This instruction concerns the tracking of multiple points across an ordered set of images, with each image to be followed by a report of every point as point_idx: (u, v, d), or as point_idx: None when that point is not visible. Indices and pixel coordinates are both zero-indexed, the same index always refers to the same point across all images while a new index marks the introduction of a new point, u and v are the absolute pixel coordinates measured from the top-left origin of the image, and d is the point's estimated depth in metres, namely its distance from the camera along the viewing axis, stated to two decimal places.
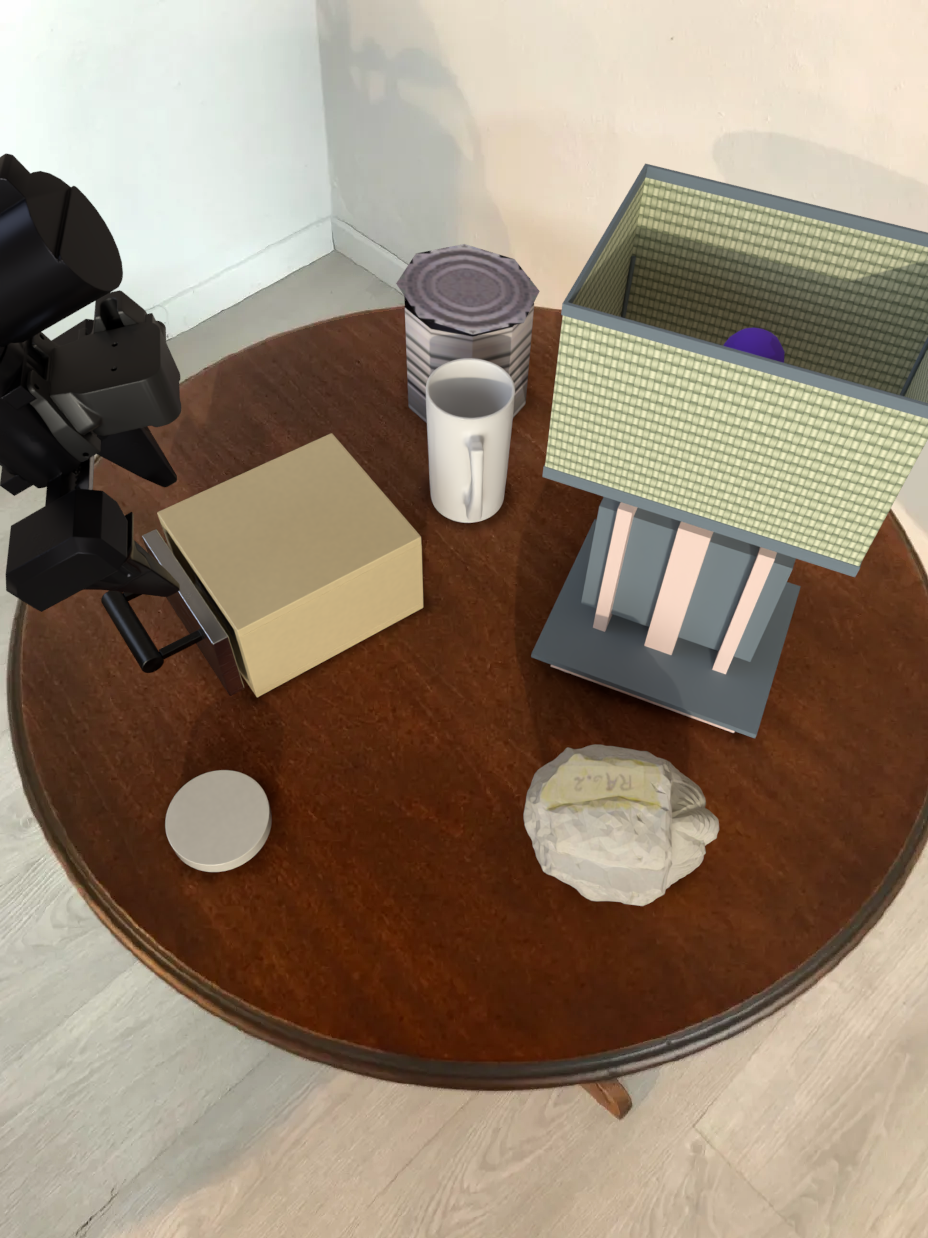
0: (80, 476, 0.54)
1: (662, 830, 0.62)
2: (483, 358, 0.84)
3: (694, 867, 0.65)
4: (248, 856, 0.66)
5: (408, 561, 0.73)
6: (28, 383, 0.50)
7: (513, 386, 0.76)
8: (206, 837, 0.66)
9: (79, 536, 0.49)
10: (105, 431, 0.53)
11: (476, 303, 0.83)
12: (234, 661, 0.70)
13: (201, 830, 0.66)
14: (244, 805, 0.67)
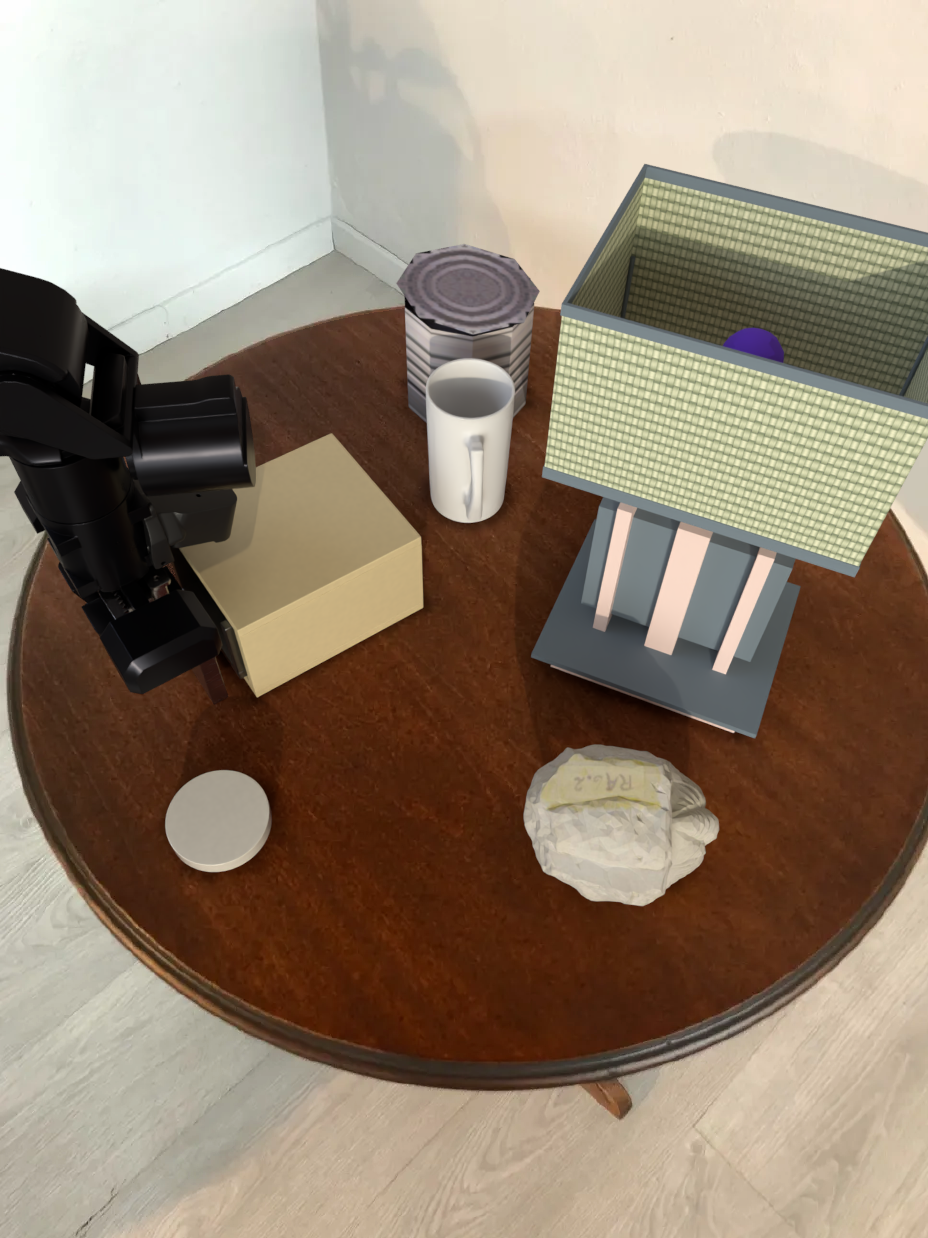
0: None
1: (662, 830, 0.62)
2: (483, 358, 0.84)
3: (694, 867, 0.65)
4: (248, 856, 0.66)
5: (408, 561, 0.73)
6: (148, 503, 0.61)
7: (513, 386, 0.76)
8: (206, 837, 0.66)
9: (204, 626, 0.61)
10: (181, 544, 0.64)
11: (476, 303, 0.83)
12: (217, 670, 0.70)
13: (201, 830, 0.66)
14: (244, 805, 0.67)
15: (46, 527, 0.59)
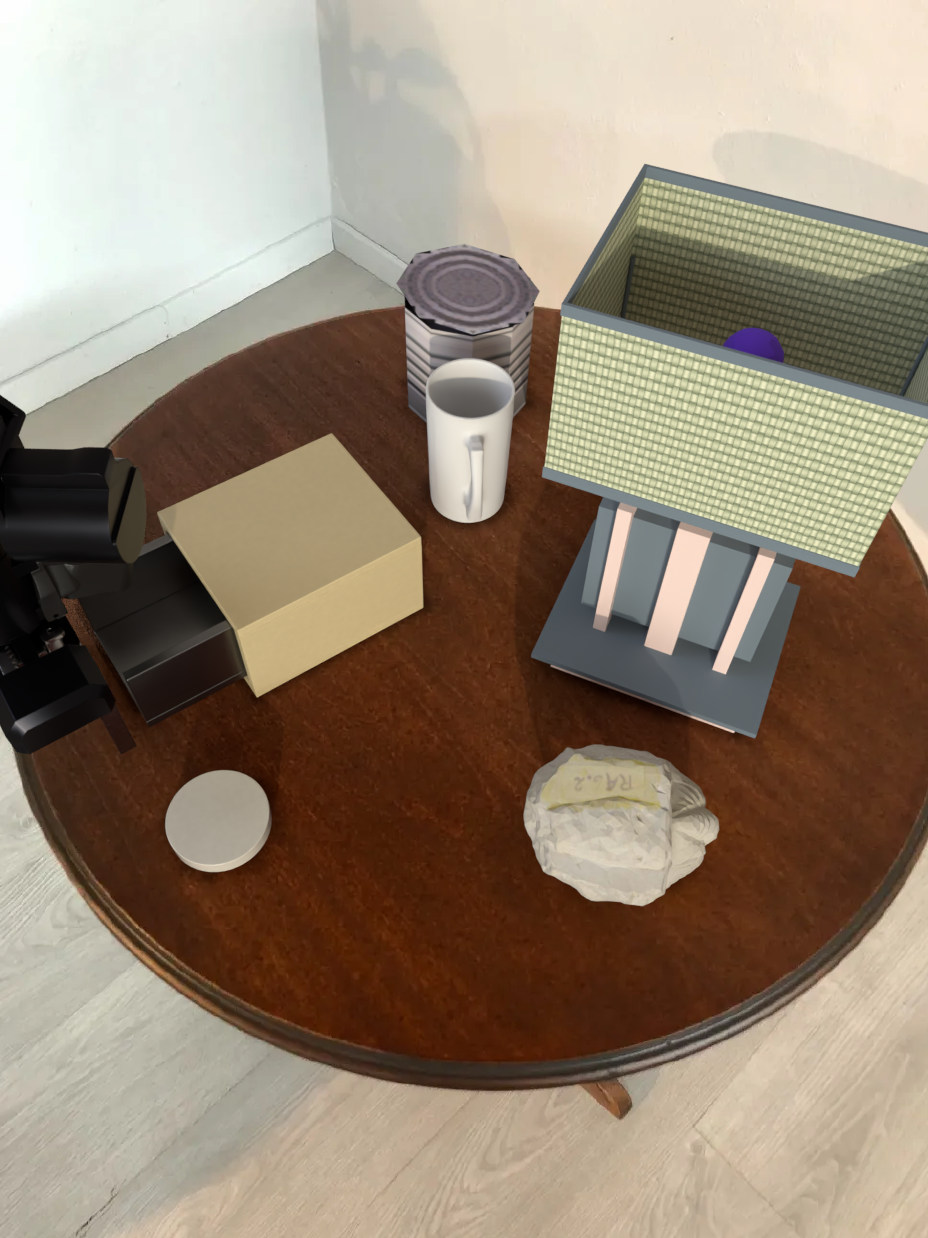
0: None
1: (662, 830, 0.62)
2: (483, 358, 0.84)
3: (694, 867, 0.65)
4: (248, 856, 0.66)
5: (408, 561, 0.73)
6: None
7: (513, 386, 0.76)
8: (206, 837, 0.66)
9: (93, 683, 0.59)
10: (75, 595, 0.62)
11: (476, 303, 0.83)
12: (121, 720, 0.68)
13: (201, 830, 0.66)
14: (244, 805, 0.67)
15: None
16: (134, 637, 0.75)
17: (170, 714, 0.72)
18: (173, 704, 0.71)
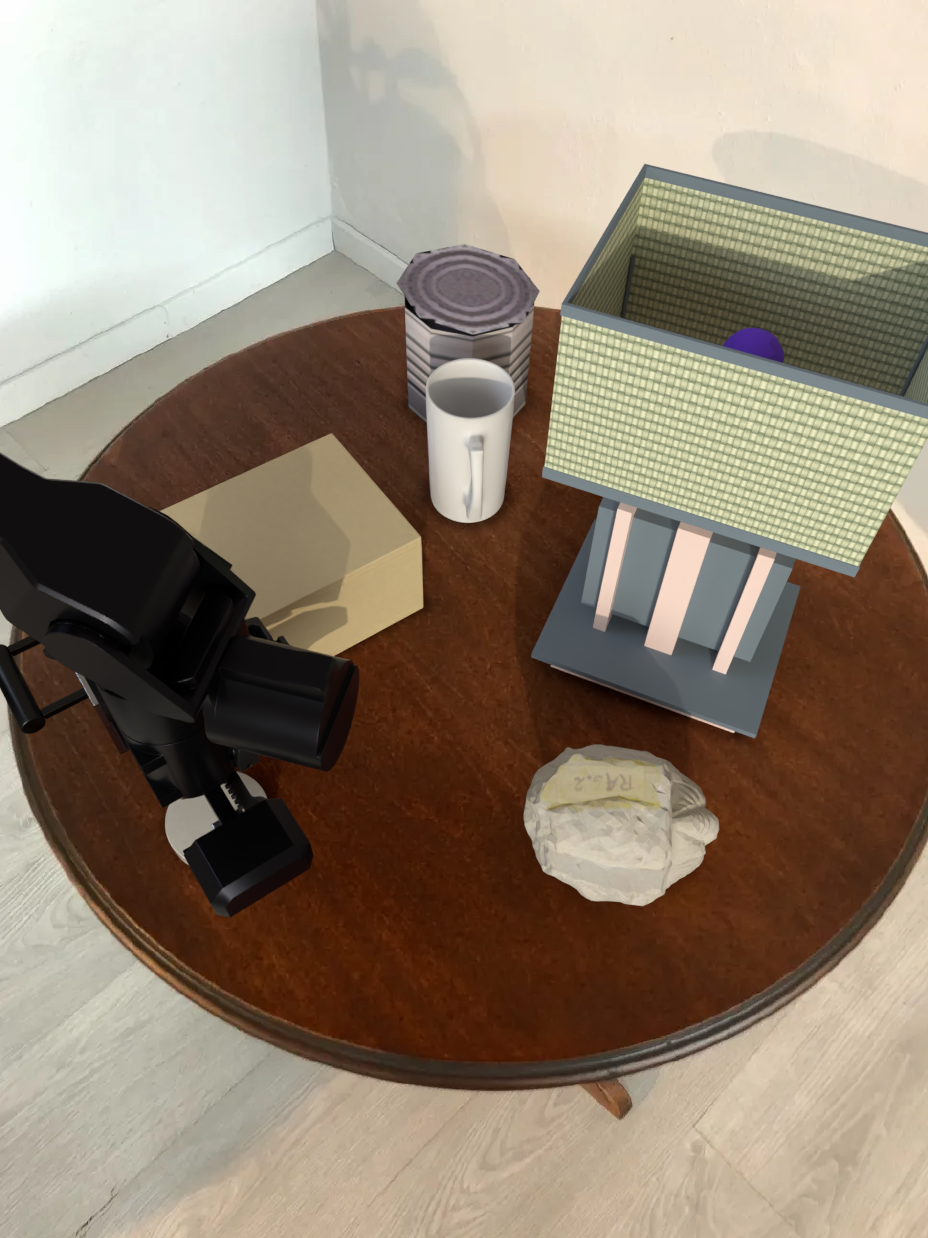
0: None
1: (662, 830, 0.62)
2: (483, 358, 0.84)
3: (694, 867, 0.65)
4: None
5: (408, 561, 0.73)
6: None
7: (513, 386, 0.76)
8: None
9: (297, 844, 0.56)
10: None
11: (476, 303, 0.83)
12: None
13: (201, 830, 0.66)
14: None
15: (129, 744, 0.54)
16: None
17: None
18: None
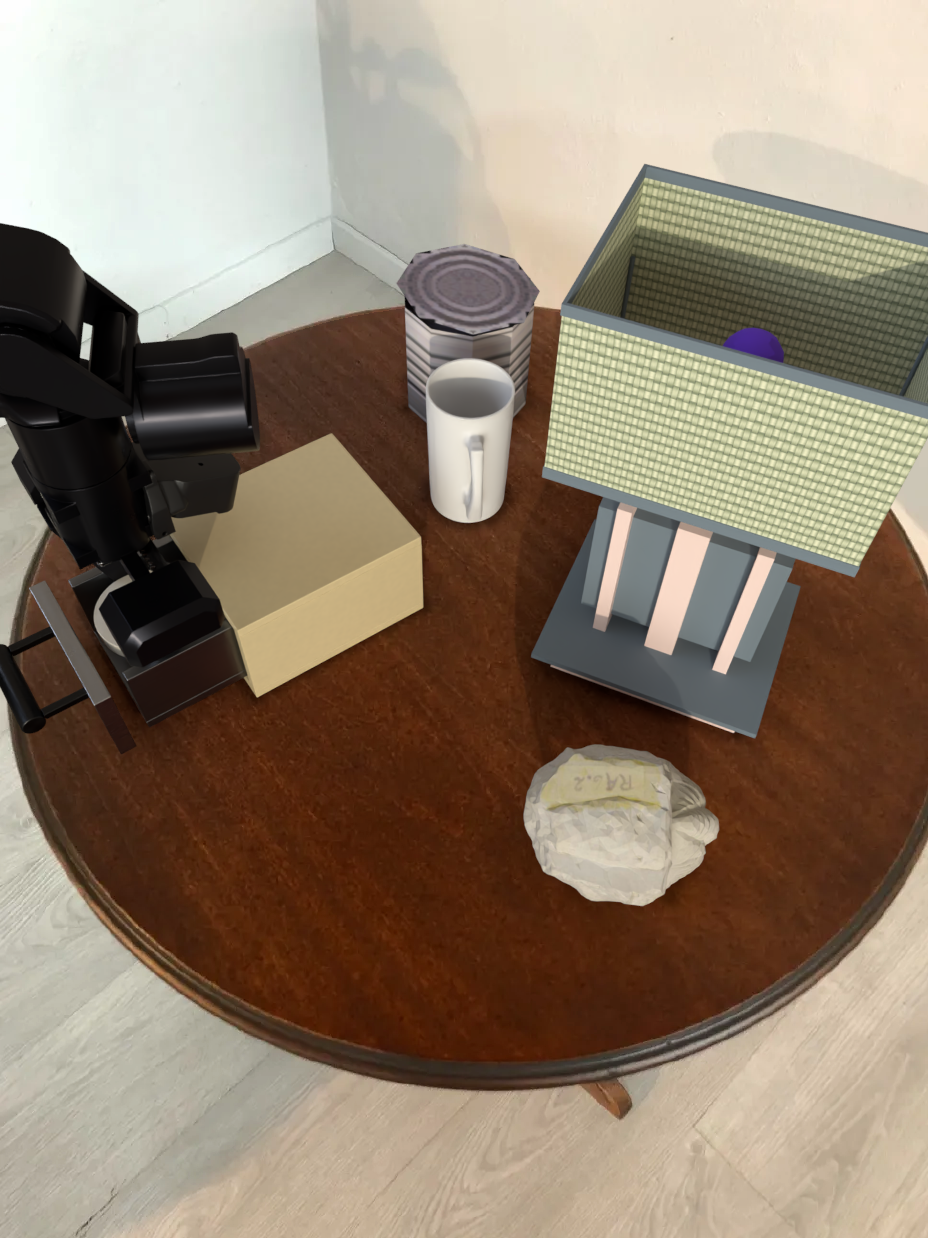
0: None
1: (662, 830, 0.62)
2: (483, 358, 0.84)
3: (694, 867, 0.65)
4: None
5: (408, 561, 0.73)
6: (149, 470, 0.59)
7: (513, 386, 0.76)
8: None
9: (206, 597, 0.59)
10: (183, 514, 0.62)
11: (476, 303, 0.83)
12: (121, 720, 0.68)
13: None
14: None
15: (43, 494, 0.57)
16: None
17: (170, 714, 0.72)
18: (173, 704, 0.71)
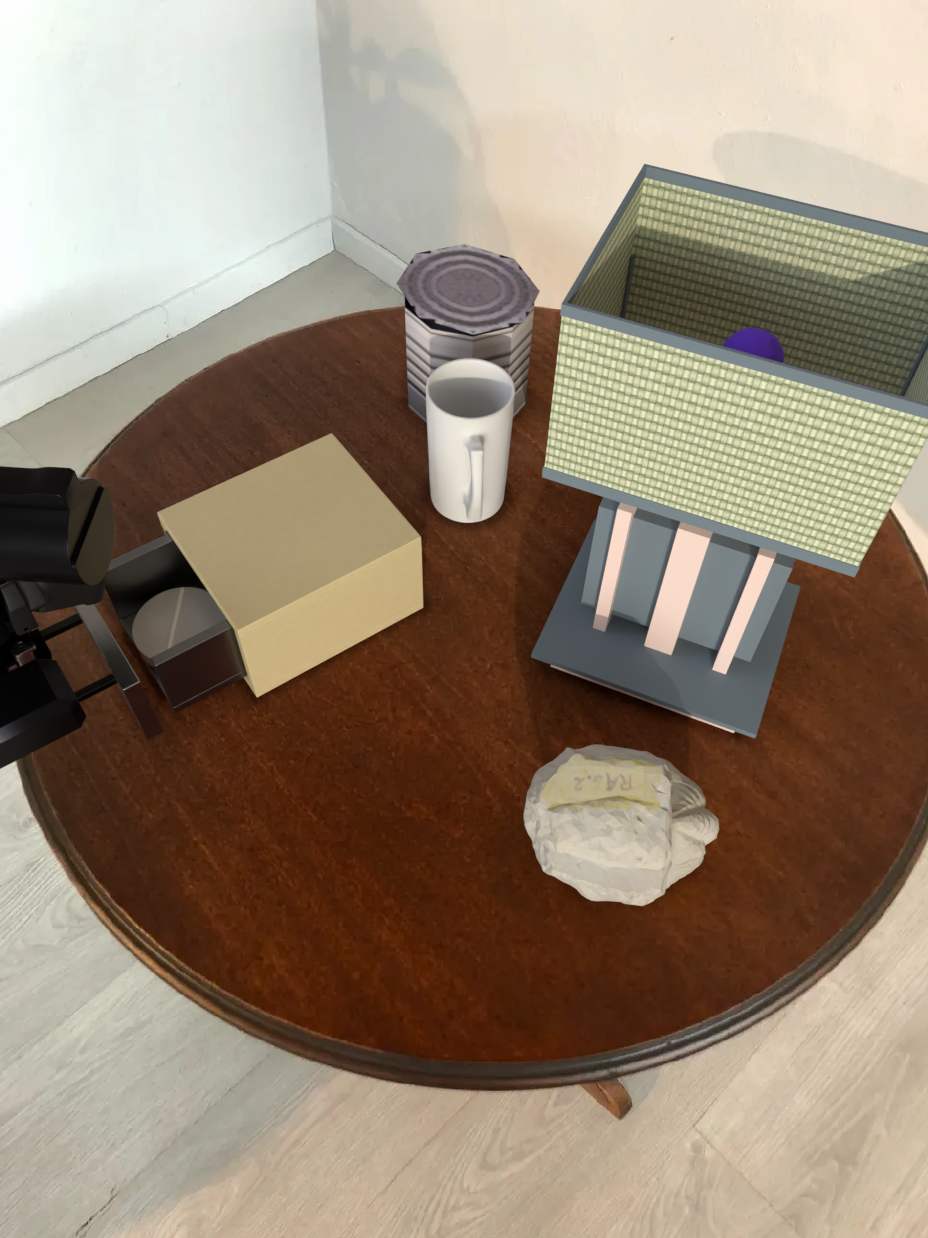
0: None
1: (662, 830, 0.62)
2: (483, 358, 0.84)
3: (694, 867, 0.65)
4: None
5: (408, 561, 0.73)
6: None
7: (513, 386, 0.76)
8: (169, 641, 0.72)
9: (61, 699, 0.58)
10: (46, 609, 0.61)
11: (476, 303, 0.83)
12: (149, 706, 0.68)
13: (165, 635, 0.73)
14: (204, 615, 0.74)
15: None
16: None
17: (196, 700, 0.72)
18: (199, 690, 0.72)
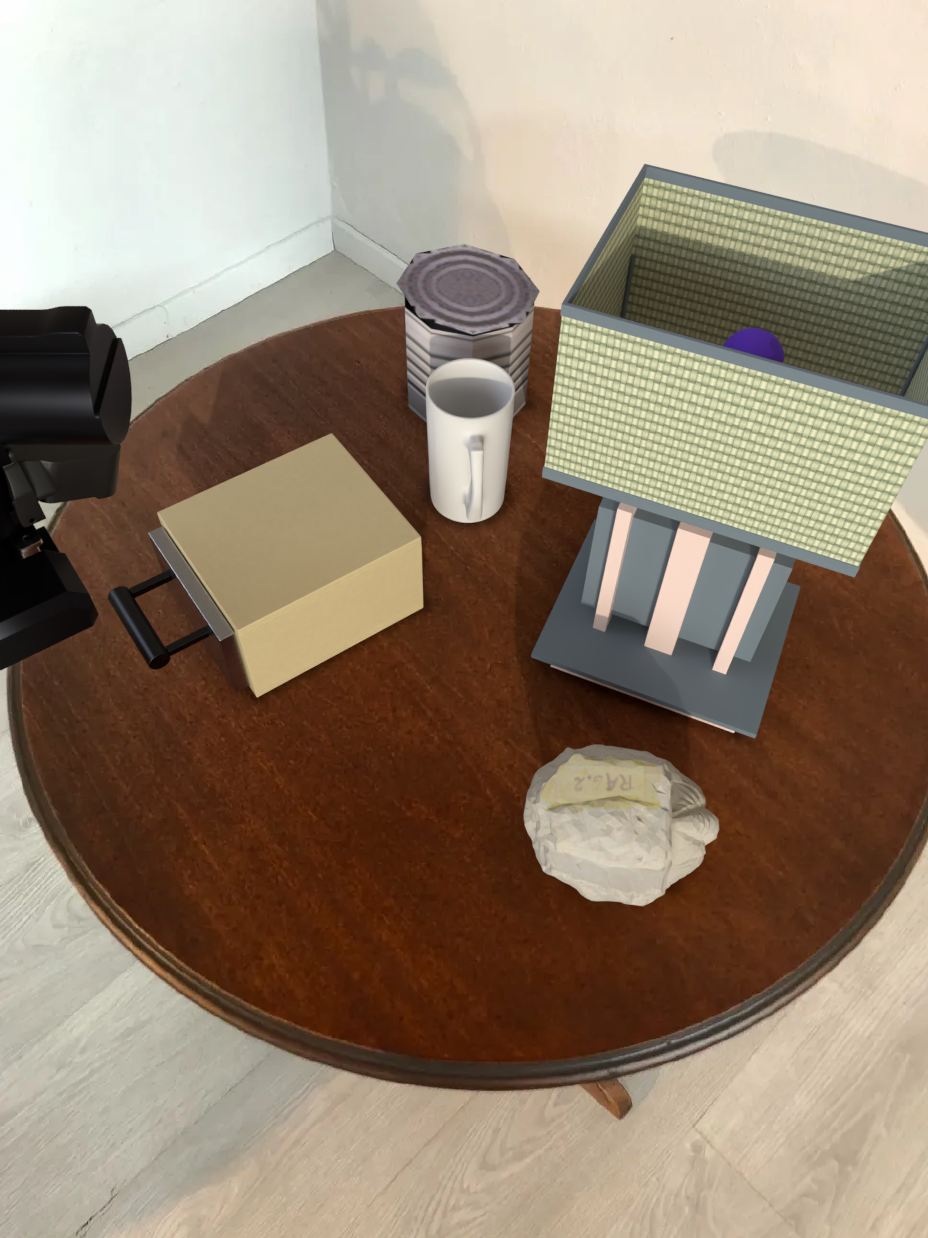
0: None
1: (662, 830, 0.62)
2: (483, 358, 0.84)
3: (694, 867, 0.65)
4: None
5: (408, 561, 0.73)
6: (7, 448, 0.52)
7: (513, 386, 0.76)
8: None
9: (72, 591, 0.52)
10: (54, 499, 0.56)
11: (476, 303, 0.83)
12: (240, 658, 0.71)
13: None
14: None
15: None
16: None
17: None
18: None
